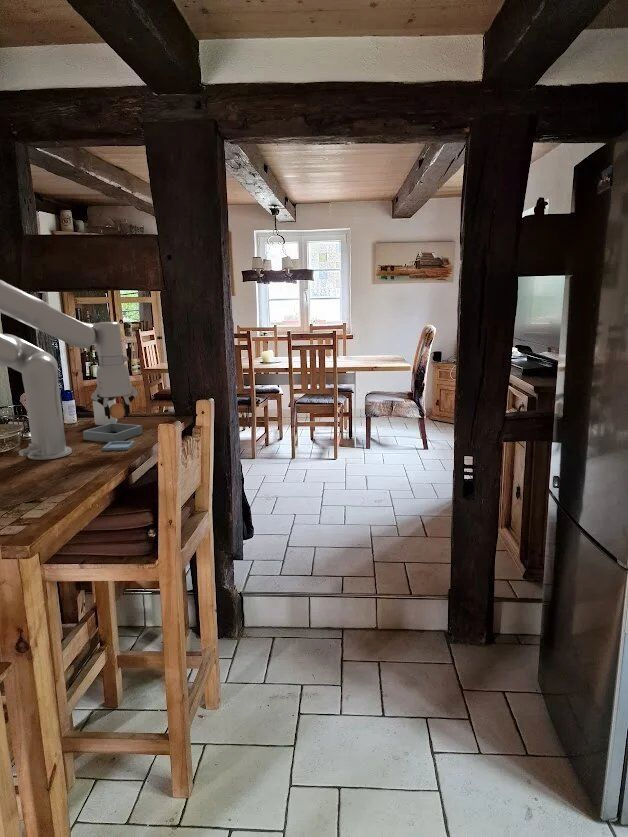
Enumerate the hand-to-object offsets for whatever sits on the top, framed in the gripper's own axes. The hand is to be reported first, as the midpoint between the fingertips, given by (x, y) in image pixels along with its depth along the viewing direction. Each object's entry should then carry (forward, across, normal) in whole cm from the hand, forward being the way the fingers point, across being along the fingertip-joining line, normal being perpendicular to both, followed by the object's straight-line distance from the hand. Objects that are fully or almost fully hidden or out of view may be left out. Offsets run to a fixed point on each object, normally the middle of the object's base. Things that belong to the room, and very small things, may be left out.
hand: (118, 416), depth 181 cm
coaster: (+10, +1, 0) cm, 10 cm away
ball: (+1, 0, 0) cm, 1 cm away
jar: (+10, +3, -41) cm, 42 cm away
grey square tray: (+10, +2, -16) cm, 19 cm away
